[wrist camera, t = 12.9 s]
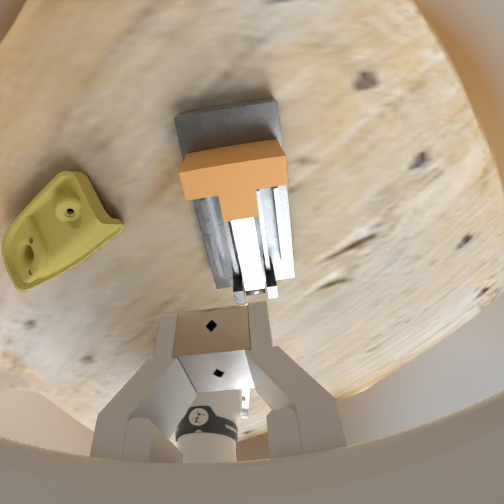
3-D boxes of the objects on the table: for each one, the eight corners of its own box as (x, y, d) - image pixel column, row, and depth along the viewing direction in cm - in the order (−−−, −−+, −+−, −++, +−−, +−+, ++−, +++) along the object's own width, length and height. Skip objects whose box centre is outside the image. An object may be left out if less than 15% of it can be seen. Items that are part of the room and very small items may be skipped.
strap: (264, 288, 42) (265, 294, 41) (246, 290, 42) (247, 297, 41) (250, 197, 33) (251, 203, 33) (227, 201, 34) (227, 207, 33)
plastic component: (69, 162, 34) (103, 232, 35) (99, 165, 41) (131, 224, 42) (-6, 242, 38) (21, 300, 39) (24, 235, 45) (50, 286, 46)
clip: (282, 187, 37) (291, 212, 32) (197, 201, 37) (193, 227, 33) (277, 138, 34) (285, 155, 29) (186, 153, 34) (178, 172, 29)
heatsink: (291, 264, 48) (300, 299, 42) (217, 275, 48) (216, 311, 42) (273, 97, 34) (283, 108, 28) (178, 113, 34) (166, 128, 28)
